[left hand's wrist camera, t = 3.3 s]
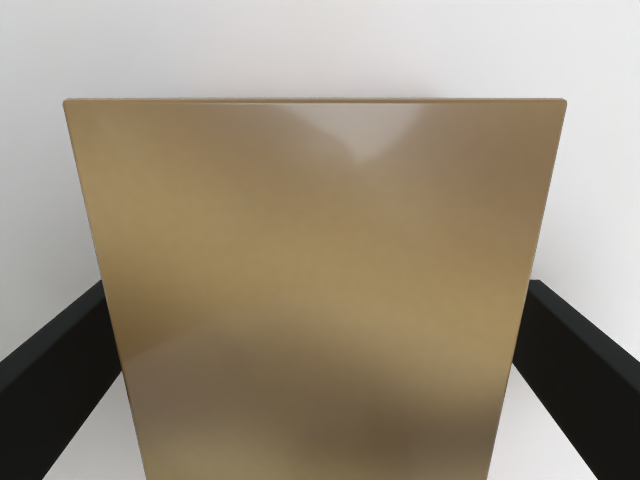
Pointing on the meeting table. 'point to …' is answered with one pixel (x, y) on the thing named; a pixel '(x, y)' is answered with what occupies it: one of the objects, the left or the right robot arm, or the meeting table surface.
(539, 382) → the left robot arm
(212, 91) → the meeting table surface
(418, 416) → the wide beam
